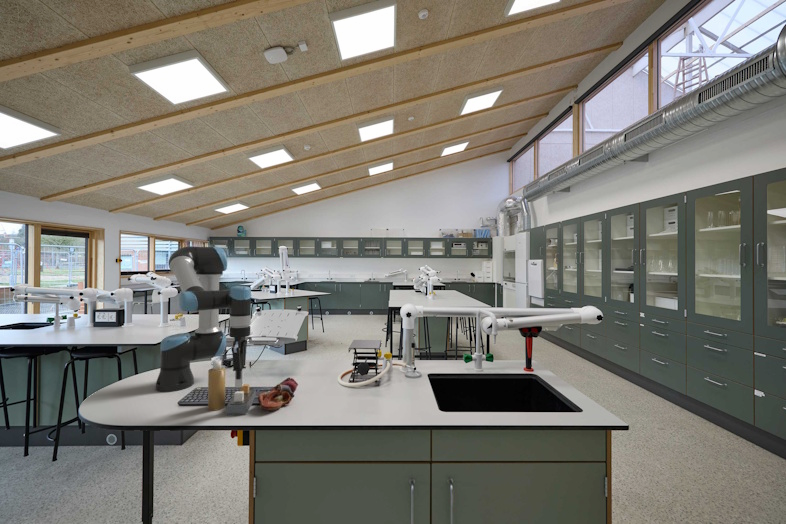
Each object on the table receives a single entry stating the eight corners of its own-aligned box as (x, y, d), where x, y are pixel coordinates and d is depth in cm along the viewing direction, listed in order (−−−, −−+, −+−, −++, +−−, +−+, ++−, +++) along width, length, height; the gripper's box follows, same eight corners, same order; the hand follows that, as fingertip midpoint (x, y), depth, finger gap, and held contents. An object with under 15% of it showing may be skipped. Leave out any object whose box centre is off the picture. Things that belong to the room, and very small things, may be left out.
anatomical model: (250, 398, 133) (279, 366, 139) (260, 402, 145) (286, 373, 151) (270, 416, 130) (299, 383, 137) (279, 419, 142) (304, 388, 148)
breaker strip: (242, 393, 153) (242, 384, 153) (259, 392, 154) (259, 384, 154) (226, 415, 131) (226, 405, 131) (245, 414, 132) (245, 404, 132)
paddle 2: (241, 392, 144) (241, 384, 144) (249, 391, 145) (249, 384, 145) (240, 393, 142) (240, 386, 142) (247, 393, 143) (247, 385, 143)
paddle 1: (235, 399, 136) (235, 391, 136) (243, 399, 137) (243, 391, 137) (234, 401, 134) (234, 393, 134) (242, 401, 135) (242, 393, 135)
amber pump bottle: (211, 404, 141) (211, 360, 141) (227, 404, 142) (227, 359, 142) (205, 410, 135) (206, 364, 135) (221, 410, 136) (222, 363, 136)
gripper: (234, 323, 141) (234, 381, 141) (224, 329, 129) (223, 393, 129) (254, 322, 143) (253, 380, 143) (245, 329, 130) (244, 392, 130)
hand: (239, 386), depth 136 cm, fingers closed
